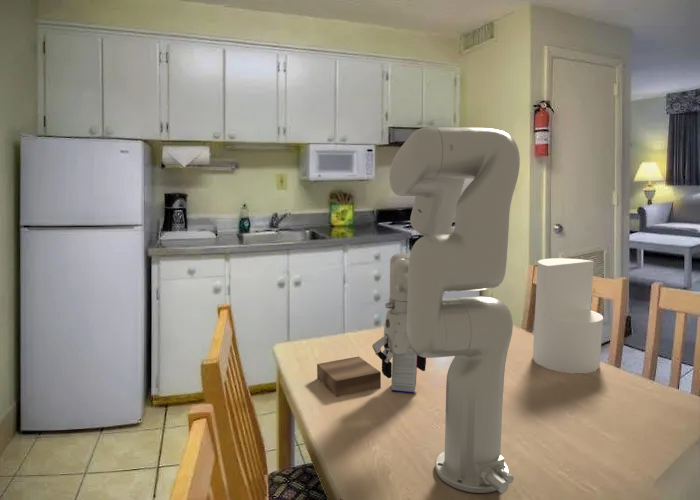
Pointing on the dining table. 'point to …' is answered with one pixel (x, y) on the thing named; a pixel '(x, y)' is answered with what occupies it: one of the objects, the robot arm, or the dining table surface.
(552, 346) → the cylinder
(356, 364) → the walnut riser block
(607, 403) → the dining table surface
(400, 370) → the supplement box
